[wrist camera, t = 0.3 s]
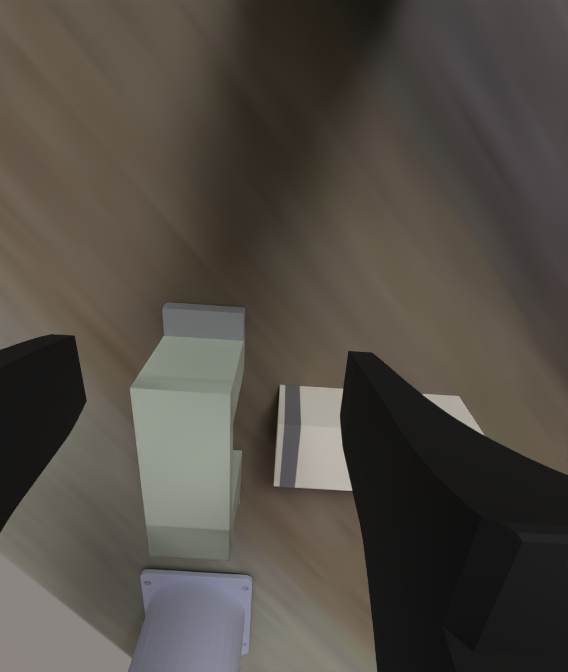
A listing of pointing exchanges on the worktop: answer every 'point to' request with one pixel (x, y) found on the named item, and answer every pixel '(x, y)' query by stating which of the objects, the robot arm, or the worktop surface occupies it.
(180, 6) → the worktop surface
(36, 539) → the worktop surface
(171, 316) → the pale green block
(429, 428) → the robot arm
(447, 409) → the bar
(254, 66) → the worktop surface
